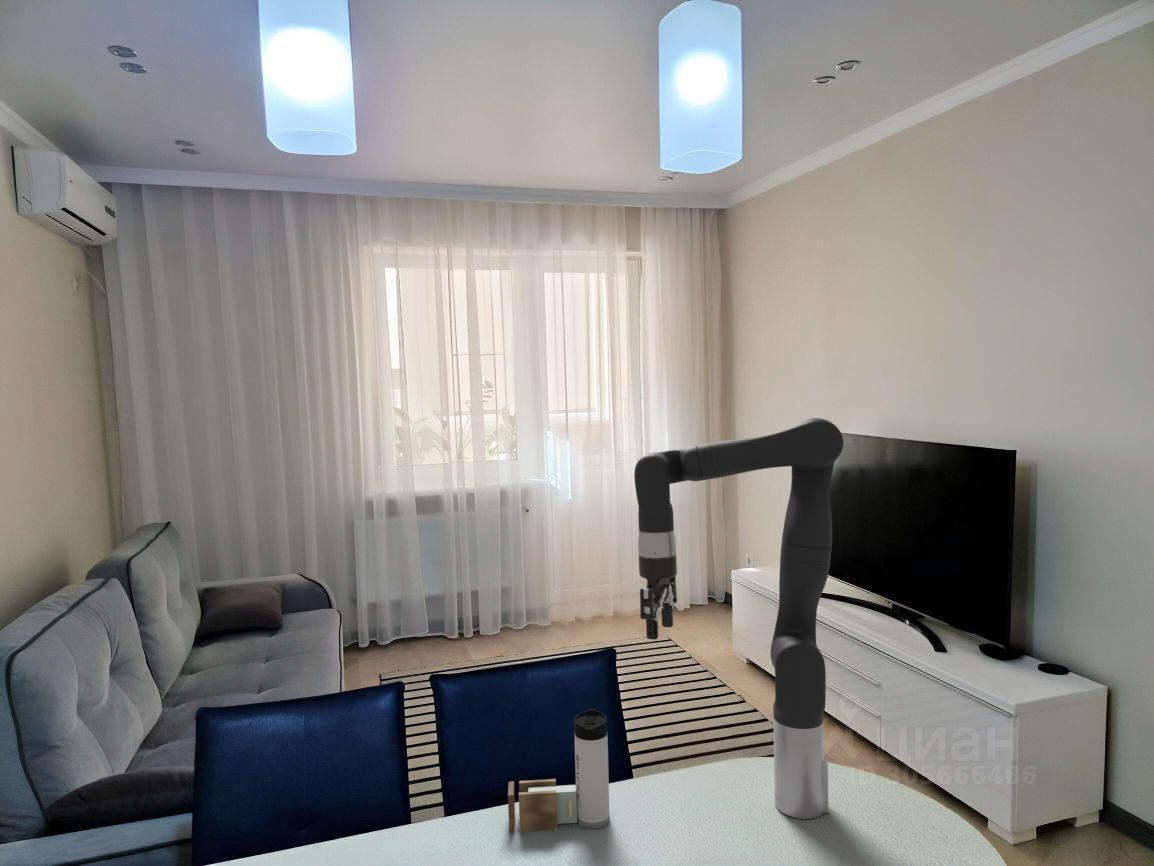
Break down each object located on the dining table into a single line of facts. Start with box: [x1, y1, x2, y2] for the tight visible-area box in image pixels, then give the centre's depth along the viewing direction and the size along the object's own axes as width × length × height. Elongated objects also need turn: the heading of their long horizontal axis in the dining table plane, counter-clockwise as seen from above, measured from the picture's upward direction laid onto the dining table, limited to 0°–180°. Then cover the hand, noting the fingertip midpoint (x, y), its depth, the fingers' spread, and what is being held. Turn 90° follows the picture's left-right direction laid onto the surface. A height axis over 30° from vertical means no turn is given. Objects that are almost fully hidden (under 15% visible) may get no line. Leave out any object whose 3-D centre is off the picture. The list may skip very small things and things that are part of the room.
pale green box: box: [528, 784, 578, 825], centre depth 138 cm, size 9×3×6 cm, turn 94°
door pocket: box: [507, 778, 559, 833], centre depth 138 cm, size 9×5×7 cm, turn 94°
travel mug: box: [574, 708, 611, 829], centre depth 139 cm, size 6×7×20 cm
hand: (660, 632), depth 147 cm, fingers open, 8 cm apart
